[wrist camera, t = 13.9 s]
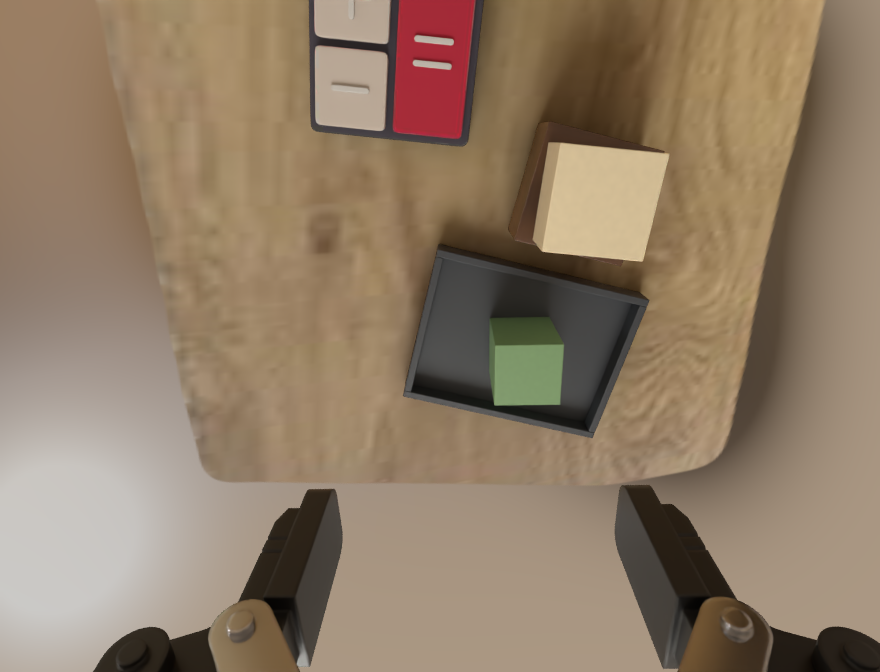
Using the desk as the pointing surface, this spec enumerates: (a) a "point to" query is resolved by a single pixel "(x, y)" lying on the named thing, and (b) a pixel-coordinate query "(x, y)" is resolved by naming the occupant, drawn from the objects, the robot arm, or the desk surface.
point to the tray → (508, 296)
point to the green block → (525, 361)
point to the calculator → (394, 68)
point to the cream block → (598, 200)
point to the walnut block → (533, 174)
